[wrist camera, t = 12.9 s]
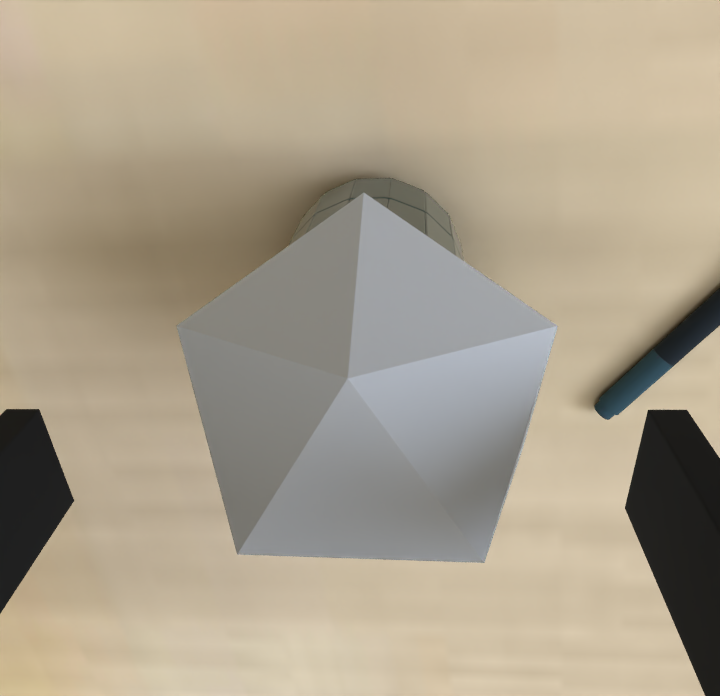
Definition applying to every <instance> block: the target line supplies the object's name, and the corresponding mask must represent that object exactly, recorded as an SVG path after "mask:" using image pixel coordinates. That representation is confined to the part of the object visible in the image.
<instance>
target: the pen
mask: <svg viewBox="0 0 720 696" xmlns="http://www.w3.org/2000/svg"><path fill="white" fill-rule="evenodd" d="M719 325H720V288H719V289H718V290H717V291H716V292H715V293H714V294H713V295H712V296H711V297H709V298H708V299H707V300H706V301H705V302H704V303H703V304H702V305H701V306H700V307H698V308H697V309H696V310H695V311H694V312H693V313H692V314H691V315H690V316H689V317H688V318H686V319H685V320H684V321H683V322H682V323H681V324H680V325H679V326H678V327H677V328H676V329H674V330H673V331H672V332H671V333H670V334H669V335H668V336H667V337H666V338H665V339H663V340H662V341H661V342H660V343H659V344H658V345H657V346H656V347H655V348H654V349H653V350H651V351H650V352H649V353H648V354H647V355H646V356H645V357H644V358H643V359H642V360H641V361H639V362H638V363H637V364H636V365H635V366H634V367H633V368H632V369H631V370H630V371H628V372H627V373H626V374H625V375H624V376H623V377H622V378H621V379H620V380H619V381H618V382H616V383H615V384H614V385H613V386H612V387H611V388H610V389H609V390H608V391H607V392H605V393H604V394H603V395H602V396H601V397H600V401H599V402H598V403H597V404H596V405H595V410H596V411H597V413H598V414H599V415H600V416H602V417H603V418H604V419H607V420H609V419H610V418H611V417H613V416H614V415H618V414H619V413H621V412H622V411H623V410H624V409H625V408H626V407H627V406H629V405H630V404H631V403H632V402H633V401H634V400H635V399H636V398H638V397H639V396H640V395H641V394H642V393H643V392H644V391H646V390H647V389H648V388H649V387H650V386H651V385H652V384H654V383H655V382H656V381H657V380H658V379H659V378H660V377H661V376H663V375H664V374H665V373H666V372H667V371H668V370H669V369H671V368H672V367H673V366H674V365H675V364H676V363H677V362H679V361H680V360H681V359H682V358H683V357H684V356H685V355H686V354H688V353H689V352H690V351H691V350H692V349H693V348H694V347H696V346H697V345H698V344H699V343H700V342H701V341H702V340H704V339H705V338H706V337H707V336H708V335H709V334H710V333H711V332H713V331H714V330H715V329H716V328H717V327H718V326H719Z"/></svg>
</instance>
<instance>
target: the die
mask: <svg viewBox="0 0 720 696" xmlns="http://www.w3.org/2000/svg"><path fill="white" fill-rule="evenodd" d="M557 327H558V326H557V325H556V324H554V323H553V322H551V321H550V320H548V319H547V318H545V317H544V316H543V315H541V314H540V313H538V312H537V311H535V310H534V309H532V308H531V307H529V306H528V305H527V304H525V303H524V302H522V301H521V300H519V299H518V298H516V297H515V296H514V295H512V294H511V293H509V292H508V291H506V290H505V289H503V288H502V287H500V286H499V285H498V284H496V283H495V282H493V281H492V280H490V279H489V278H487V277H486V276H484V275H483V274H482V273H480V272H479V271H477V270H476V269H474V268H473V267H471V266H470V265H468V264H467V263H466V262H464V261H463V260H461V259H460V258H458V257H457V256H455V255H454V254H452V253H451V252H450V251H448V250H447V249H445V248H444V247H442V246H441V245H439V244H438V243H437V242H435V241H434V240H432V239H431V238H429V237H428V236H426V235H425V234H423V233H422V232H421V231H419V230H418V229H416V228H415V227H413V226H412V225H410V224H409V223H407V222H406V221H405V220H403V219H402V218H400V217H399V216H397V215H396V214H394V213H393V212H391V211H390V210H389V209H387V208H386V207H384V206H383V205H381V204H380V203H378V202H377V201H375V200H374V199H373V198H371V197H370V196H368V195H367V194H365V193H362V194H361V195H360V196H358V197H357V198H355V199H354V200H353V201H351V202H350V203H348V204H347V205H346V206H344V207H343V208H341V209H340V210H338V211H337V212H336V213H334V214H333V215H331V216H330V217H329V218H327V219H326V220H324V221H323V222H322V223H320V224H319V225H317V226H316V227H315V228H313V229H312V230H310V231H309V232H308V233H306V234H305V235H303V236H302V237H301V238H299V239H298V240H296V241H295V242H293V243H292V244H291V245H289V246H288V247H286V248H285V249H284V250H282V251H281V252H279V253H278V254H277V255H275V256H274V257H272V258H271V259H270V260H268V261H267V262H265V263H264V264H263V265H261V266H260V267H258V268H257V269H256V270H254V271H253V272H251V273H250V274H248V275H247V276H246V277H244V278H243V279H241V280H240V281H239V282H237V283H236V284H234V285H233V286H232V287H230V288H229V289H227V290H226V291H225V292H223V293H222V294H220V295H219V296H218V297H216V298H215V299H213V300H212V301H211V302H209V303H208V304H206V305H205V306H203V307H202V308H201V309H199V310H198V311H196V312H195V313H194V314H192V315H191V316H189V317H188V318H187V319H185V320H184V321H182V322H181V323H180V324H178V325H177V330H178V333H179V337H180V341H181V345H182V348H183V352H184V356H185V360H186V363H187V367H188V371H189V375H190V378H191V382H192V386H193V390H194V393H195V397H196V401H197V405H198V408H199V412H200V416H201V420H202V423H203V427H204V431H205V435H206V438H207V442H208V446H209V450H210V454H211V457H212V461H213V465H214V469H215V472H216V476H217V480H218V484H219V487H220V491H221V495H222V499H223V502H224V506H225V510H226V514H227V517H228V521H229V525H230V529H231V532H232V536H233V540H234V544H235V547H236V551H237V554H241V555H270V556H300V557H330V558H359V559H389V560H418V561H448V562H477V563H484V562H485V559H486V556H487V553H488V550H489V547H490V544H491V541H492V538H493V535H494V532H495V529H496V526H497V523H498V520H499V517H500V514H501V511H502V508H503V505H504V502H505V499H506V496H507V493H508V490H509V487H510V484H511V482H512V479H513V476H514V473H515V470H516V467H517V464H518V461H519V458H520V455H521V452H522V449H523V446H524V442H525V439H526V435H527V432H528V428H529V425H530V421H531V418H532V414H533V411H534V407H535V404H536V400H537V397H538V393H539V390H540V386H541V383H542V379H543V376H544V372H545V369H546V365H547V362H548V358H549V355H550V351H551V348H552V344H553V341H554V337H555V334H556V330H557Z"/></svg>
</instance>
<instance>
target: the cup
mask: <svg viewBox="0 0 720 696" xmlns="http://www.w3.org/2000/svg"><path fill="white" fill-rule="evenodd" d="M362 193H365V194H367V195H368V196H370V197H371V198H373V199H374V200H375V201H377V202H378V203H380V204H381V205H383V206H384V207H386V208H387V209H389V210H390V211H391V212H393V213H394V214H396V215H397V216H399V217H400V218H402V219H403V220H405V221H406V222H407V223H409V224H410V225H412V226H413V227H415V228H416V229H418V230H419V231H421V232H422V233H423V234H425V235H426V236H428V237H429V238H431V239H432V240H434V241H435V242H437V243H438V244H439V245H441V246H442V247H444V248H445V249H447V250H448V251H450V252H451V253H452V254H454V255H455V256H457V257H458V258H460V259H461V260H463V261H464V257H463V251H462V246H461V242H460V240H459V237H458V235H457V232H456V230H455V227H454V225H453V222H452V220H451V218H450V216H449V215H448V213H447V212H446V211H445V210H444V209H443V208H442V207H441V206H440V205H439V204H438V203H437V202H435V201H434V200H433V199H432V198H431V197H430V196H429V195H428V194H427V193H426V192H424V190H422V189H419V188H416V187H414V186H411V185H409V184H406V183H403V182H401V181H398V180H396V179H393V178H392V179H391V178H370V179H354V180H352V181H350V182H347V183H345V184H343V185H341V186H339V187H336V188H334V189H332V190H330V191H328V192H325V194H324V195H322V196H321V197H320V198H319V199H318V201H317V202H316V203H315V204H314V205H313V206H312V207H311V208H310V209H309V211H308V212H307V213H306V214H305V215H304V216H303V218H302V219H301V221H300V223H299V225H298V227H297V229H296V231H295V233H294V235H293V237H292V239H291V241H290V243H289V245H291V244H292V243H293V242H295V241H296V240H298V239H299V238H301V237H302V236H303V235H305V234H306V233H308V232H309V231H310V230H312V229H313V228H315V227H316V226H317V225H319V224H320V223H322V222H323V221H324V220H326V219H327V218H329V217H330V216H331V215H333V214H334V213H336V212H337V211H338V210H340V209H341V208H343V207H344V206H346V205H347V204H348V203H350V202H351V201H353V200H354V199H355V198H357V197H358V196H360V195H361V194H362ZM289 245H288V246H289Z"/></svg>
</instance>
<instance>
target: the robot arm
mask: <svg viewBox="0 0 720 696" xmlns="http://www.w3.org/2000/svg"><path fill="white" fill-rule="evenodd" d="M73 502H74V499H73V497H72V494H71V491H70V489H69V486H68V484H67V481H66V478H65V476H64V473H63V470H62V468H61V465H60V463H59V460H58V457H57V455H56V452H55V449H54V447H53V444H52V442H51V439H50V436H49V434H48V431H47V428H46V426H45V423H44V421H43V418H42V415H41V413H40V410H39V409H6V410H5V411H4V413H3V414H2V415H1V416H0V613H1V612H2V610H3V609H4V607H5V606H6V604H7V602H8V601H9V599H10V598H11V596H12V595H13V593H14V592H15V590H16V589H17V587H18V586H19V584H20V583H21V581H22V580H23V578H24V576H25V575H26V573H27V572H28V570H29V569H30V567H31V566H32V564H33V563H34V561H35V560H36V558H37V557H38V555H39V554H40V552H41V550H42V549H43V547H44V546H45V544H46V543H47V541H48V540H49V538H50V537H51V535H52V534H53V532H54V531H55V529H56V528H57V526H58V524H59V523H60V521H61V520H62V518H63V517H64V515H65V514H66V512H67V511H68V509H69V508H70V506H71V505H72V503H73ZM625 509H626V511H627V514H628V516H629V519H630V521H631V523H632V526H633V528H634V530H635V533H636V535H637V537H638V540H639V542H640V544H641V547H642V549H643V551H644V554H645V556H646V558H647V561H648V563H649V565H650V568H651V570H652V572H653V575H654V577H655V579H656V582H657V584H658V586H659V589H660V591H661V593H662V596H663V598H664V600H665V603H666V605H667V607H668V610H669V612H670V614H671V617H672V619H673V621H674V624H675V626H676V628H677V631H678V633H679V635H680V638H681V640H682V642H683V645H684V647H685V649H686V652H687V654H688V656H689V659H690V661H691V663H692V666H693V668H694V670H695V673H696V675H697V677H698V680H699V682H700V684H701V687H702V689H703V691H704V694H705V696H720V458H719V457H718V455H717V454H716V452H715V451H714V449H713V448H712V446H711V445H710V443H709V442H708V440H707V439H706V438H705V436H704V435H703V433H702V432H701V430H700V429H699V427H698V426H697V424H696V423H695V421H694V420H693V418H692V417H691V415H690V414H689V412H688V411H687V410H648V413H647V417H646V421H645V425H644V430H643V434H642V438H641V442H640V447H639V451H638V455H637V459H636V464H635V468H634V472H633V476H632V480H631V485H630V489H629V493H628V497H627V502H626V506H625Z"/></svg>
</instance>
